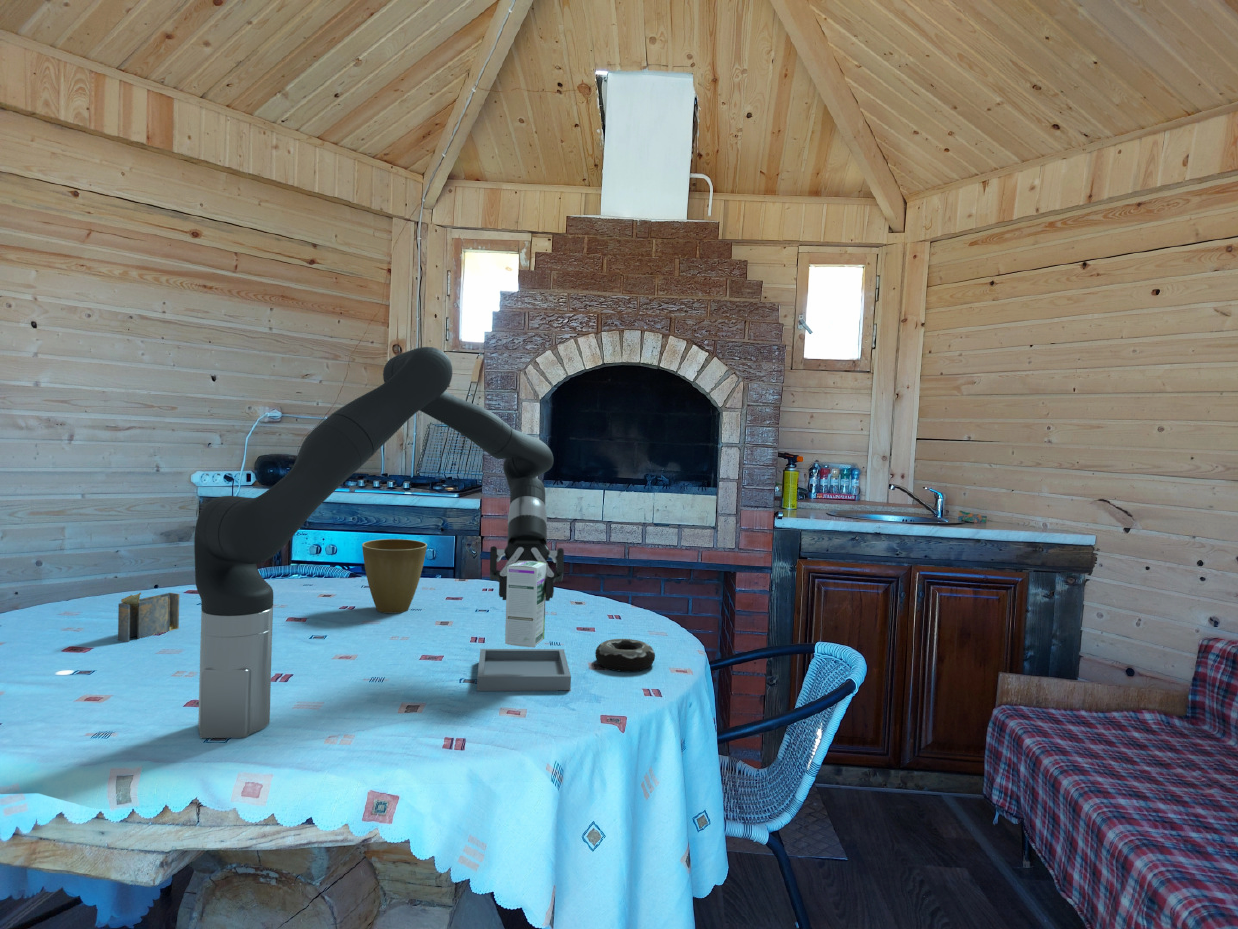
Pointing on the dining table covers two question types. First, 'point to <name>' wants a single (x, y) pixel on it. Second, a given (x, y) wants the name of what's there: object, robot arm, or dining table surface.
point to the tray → (523, 670)
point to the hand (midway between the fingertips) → (526, 598)
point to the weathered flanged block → (147, 615)
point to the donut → (625, 654)
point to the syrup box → (525, 603)
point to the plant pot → (393, 572)
